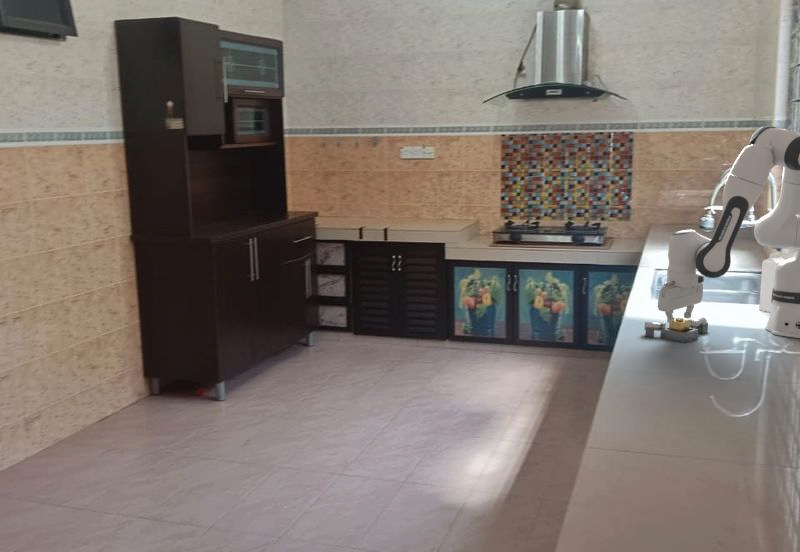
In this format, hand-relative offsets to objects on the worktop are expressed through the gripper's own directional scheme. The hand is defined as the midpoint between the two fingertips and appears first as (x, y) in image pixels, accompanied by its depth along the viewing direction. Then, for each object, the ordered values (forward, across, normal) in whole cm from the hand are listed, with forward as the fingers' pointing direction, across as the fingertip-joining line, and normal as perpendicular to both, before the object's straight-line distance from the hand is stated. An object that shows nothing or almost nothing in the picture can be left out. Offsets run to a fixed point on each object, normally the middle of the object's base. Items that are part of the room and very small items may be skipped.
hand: (679, 320), depth 267 cm
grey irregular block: (+6, +10, -1) cm, 11 cm away
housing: (+6, -1, -1) cm, 6 cm away
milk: (+7, +59, 0) cm, 60 cm away
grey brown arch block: (+6, -5, +6) cm, 9 cm away
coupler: (+5, -1, -1) cm, 5 cm away
